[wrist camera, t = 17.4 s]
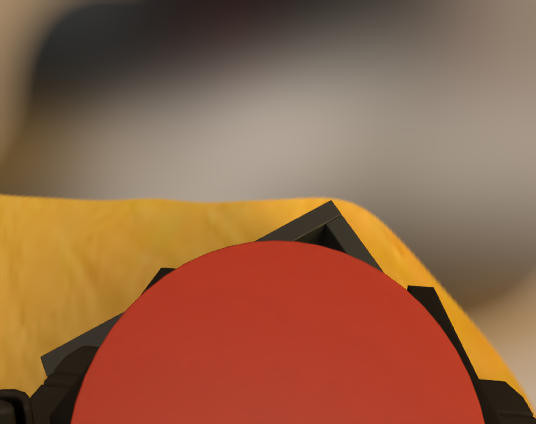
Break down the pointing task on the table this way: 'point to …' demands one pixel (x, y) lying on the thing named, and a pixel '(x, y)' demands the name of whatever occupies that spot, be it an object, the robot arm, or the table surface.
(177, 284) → the cap
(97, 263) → the table surface
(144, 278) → the table surface
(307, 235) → the bin
